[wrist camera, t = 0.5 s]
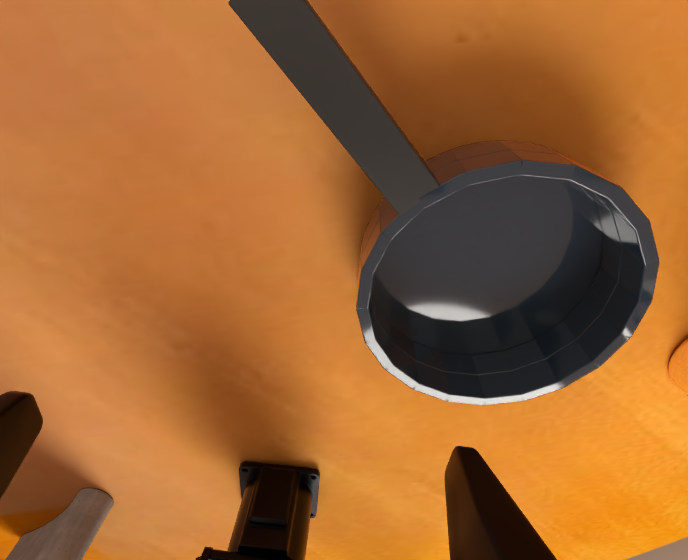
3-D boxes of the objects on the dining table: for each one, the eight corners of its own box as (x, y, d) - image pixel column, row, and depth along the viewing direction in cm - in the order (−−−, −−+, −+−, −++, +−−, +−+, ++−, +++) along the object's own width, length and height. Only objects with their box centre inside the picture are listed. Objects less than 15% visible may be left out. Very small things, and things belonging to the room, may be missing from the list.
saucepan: (555, 365, 25) (584, 416, 22) (349, 344, 25) (345, 391, 22) (658, 154, 18) (724, 180, 15) (375, 126, 18) (376, 145, 15)
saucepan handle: (437, 178, 17) (441, 187, 16) (398, 207, 17) (400, 217, 16) (277, -42, 13) (269, -49, 12) (237, 5, 14) (227, 2, 13)
